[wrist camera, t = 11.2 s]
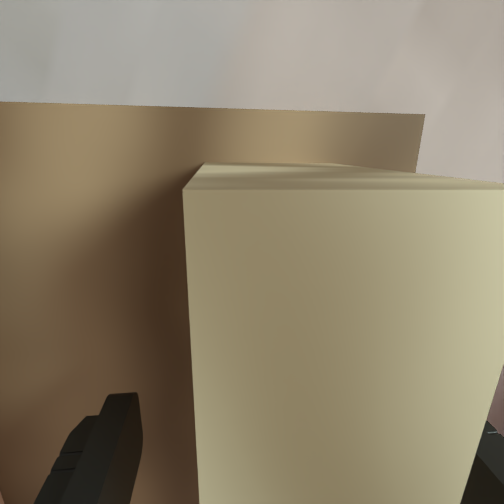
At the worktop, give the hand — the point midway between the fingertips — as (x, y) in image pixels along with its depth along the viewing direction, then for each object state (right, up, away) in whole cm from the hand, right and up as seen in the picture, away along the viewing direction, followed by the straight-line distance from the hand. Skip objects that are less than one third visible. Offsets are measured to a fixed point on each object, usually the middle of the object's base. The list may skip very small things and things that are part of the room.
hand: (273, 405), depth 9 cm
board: (-3, +2, +5) cm, 6 cm away
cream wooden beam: (0, +1, +3) cm, 3 cm away
